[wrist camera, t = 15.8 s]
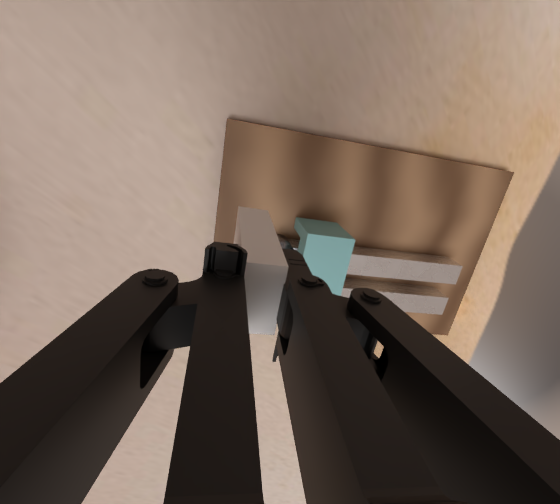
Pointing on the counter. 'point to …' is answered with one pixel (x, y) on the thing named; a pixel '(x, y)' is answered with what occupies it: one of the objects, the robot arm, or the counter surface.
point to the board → (363, 198)
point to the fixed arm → (403, 295)
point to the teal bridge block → (325, 250)
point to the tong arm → (395, 264)
